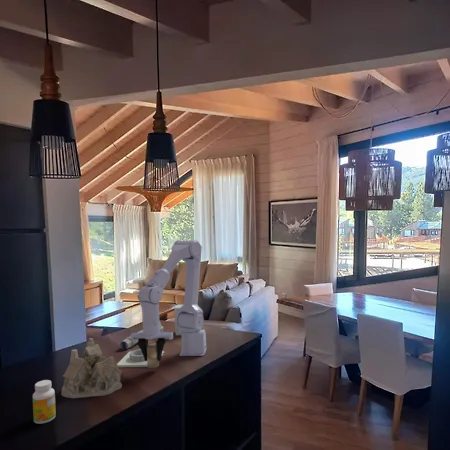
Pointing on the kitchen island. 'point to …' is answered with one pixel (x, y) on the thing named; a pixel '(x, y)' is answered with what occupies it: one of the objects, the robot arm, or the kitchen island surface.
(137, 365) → the collar plate
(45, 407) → the supplement bottle
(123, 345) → the white handheld device
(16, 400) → the kitchen island surface
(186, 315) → the robot arm
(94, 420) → the kitchen island surface
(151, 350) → the maple peg
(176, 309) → the supplement box
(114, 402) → the kitchen island surface
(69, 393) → the ceramic cottage
